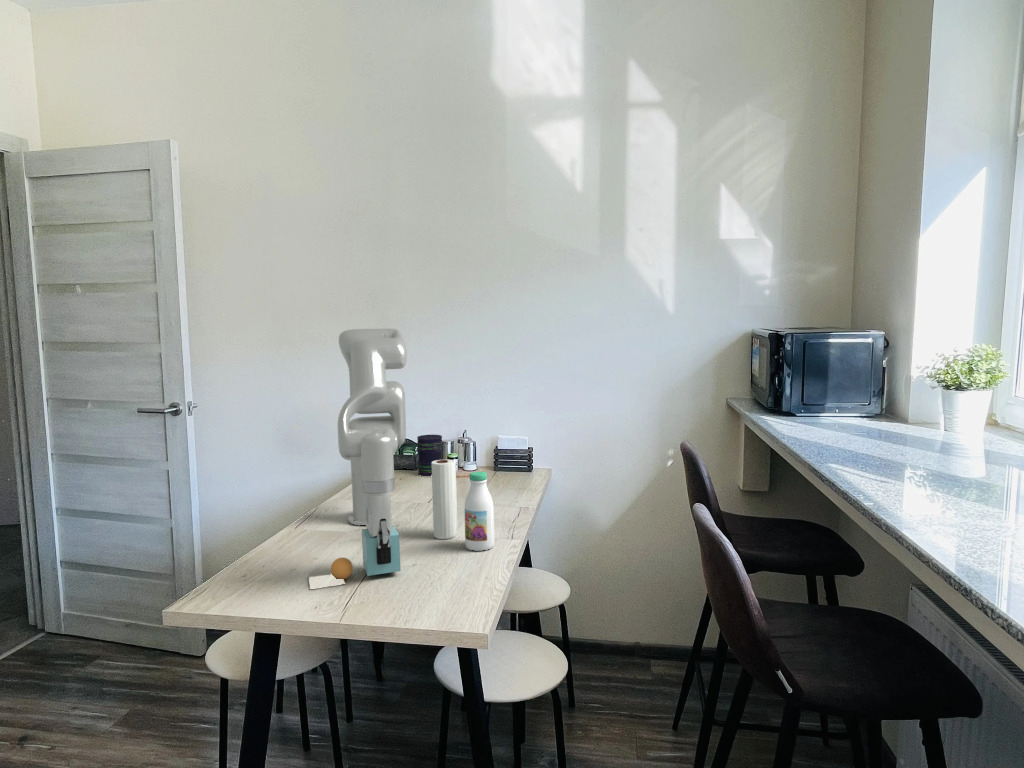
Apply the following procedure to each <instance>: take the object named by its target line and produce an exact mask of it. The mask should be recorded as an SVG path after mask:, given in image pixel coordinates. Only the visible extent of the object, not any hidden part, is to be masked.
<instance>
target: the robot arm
mask: <svg viewBox="0 0 1024 768" xmlns="http://www.w3.org/2000/svg"><path fill="white" fill-rule="evenodd" d="M338 345H339V349H340V353H341V354H342V356H343V358H344V360H345V362H346V364H347V367H348V373H349V374H348V375H349V396H350V397H349V398H347V400H346V401H345V403H343V405H342V407H341V409H340V412H339V413H338V414H339V415H338V417H337V441H338V442H337V443H338V452H339V454H340V456H341V457H342V458H343V459H344V460H346V461H350V470H351V471H350V473H351V491H352V492H351V493H352V495H351V496H352V497H351V498H352V513H351V514H350V515H349V516H348V517H347V521H348V522H347V523H349V524H351V525H353V524H354V525H355V526H360V525H366V526H365V527H366V528H365V529H367V530H368V532H369V534H370V536H371V537H372V538H373V537H374V536H376V537H377V545H378V548H376V551H377V564H378V565H381V564H388V563H391V546H390V540H389V535H390V534H391V533H392V525H393V522H392V520H393V519H392V502H391V501H392V500H391V494H393V493H395V468H394V467H395V465H394V464H395V463H394V455H395V453H396V451H398V447H400V446H402V445H403V444H404V443H405V441H406V435H407V426H406V422H407V421H406V419H407V418H406V415H407V414H406V395H405V394H406V393H405V388H404V386H403V385H402V383H400V382H399V381H395V380H388V381H387V376H386V370H401V369H403V368H405V366H406V364H407V361H408V360H407V359H408V353H407V345H406V343H405V340H404V337H403V335H402V333H401V331H400V330H399V329H397V328H356V329H355V328H354V329H353V328H352V329H347V330H344V331H342V332H341V333H340V334H339V336H338ZM355 414H359V415H371V416H361V417H357V418H356V417H355V418H352V417H353V416H354V415H355ZM375 414H389V415H379V416H377V415H375ZM373 415H375V416H373ZM351 418H352V419H351ZM381 532H382V534H378V533H381ZM380 537H382V539H381V540H380Z"/></svg>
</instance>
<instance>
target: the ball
mask: <svg viewBox="0 0 1024 768" xmlns="http://www.w3.org/2000/svg"><path fill="white" fill-rule="evenodd" d="M353 568H354V566H353V563H352V561H351V560H350V559H349V558H347V557H338V558H336V559H334V561H333V562H332V563H331V566H330V573H332V575H333V576H334V577H335V578H336V579H345V580H346V579H348V578H349V577H350V576H351V575H352V572H353Z"/></svg>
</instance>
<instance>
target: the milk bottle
mask: <svg viewBox="0 0 1024 768" xmlns="http://www.w3.org/2000/svg"><path fill="white" fill-rule="evenodd" d="M469 482H470V485H469V490H468V492H467V495H466V496H465V497H466V498H465V502H464V539H465V542H464V543H465V545H464V546H465V547H466V549H467V550H469V551H472V550H474V551H473V552H482V551H483V550H485V551H489V550H491V549H493V548H494V547H493V546H495V518H494V517H495V515H494V511H495V509H494V501H493V498H492V495H491V493H490V492H489V489H488V486H487V482H488V474H487V472H485V471H473V472H472V471H471V472H470V473H469ZM488 549H489V550H488Z"/></svg>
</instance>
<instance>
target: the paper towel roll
mask: <svg viewBox="0 0 1024 768" xmlns="http://www.w3.org/2000/svg"><path fill="white" fill-rule="evenodd" d="M456 467H457V464H456V458H454V459H453V460H452V459H442V460H436V461H433V462H432V477H431V484H432V485H431V488H432V489H431V491H432V517H433V518H432V521H433V523H432V524H433V537H434V538H435V539H439V540H448V539H452V538H455V536H456V535H457V532H458V512H457V511H458V507H457V506H458V505H457V503H458V501H457V500H458V499H457V473H456V471H457V470H456Z"/></svg>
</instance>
